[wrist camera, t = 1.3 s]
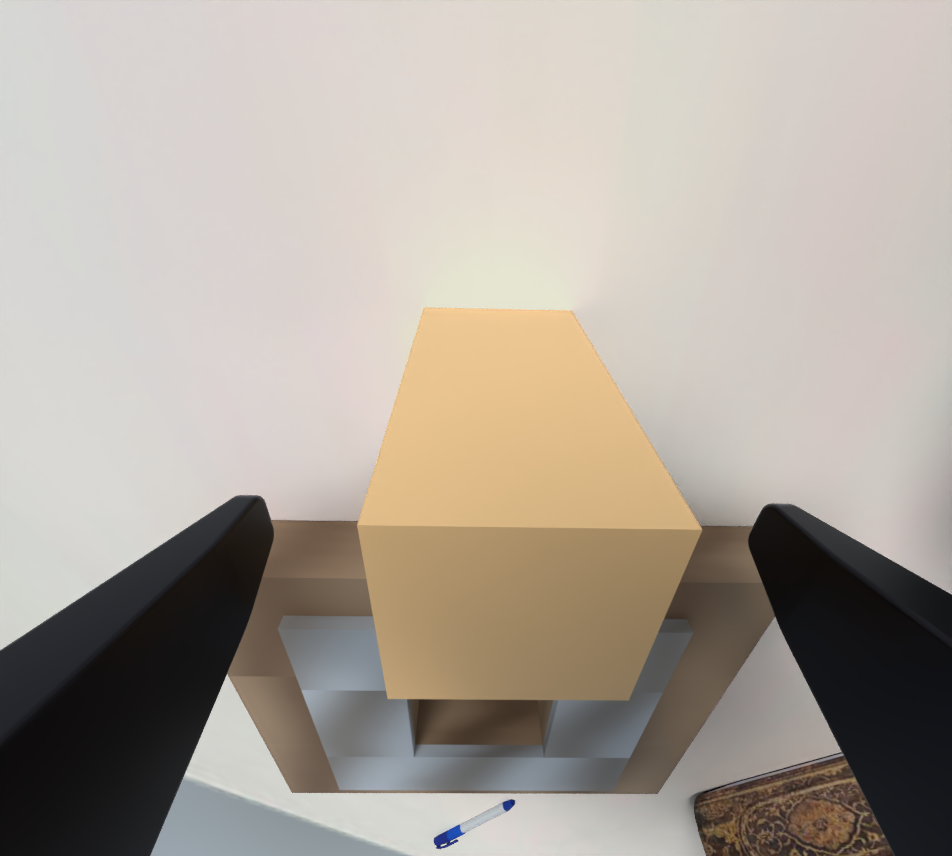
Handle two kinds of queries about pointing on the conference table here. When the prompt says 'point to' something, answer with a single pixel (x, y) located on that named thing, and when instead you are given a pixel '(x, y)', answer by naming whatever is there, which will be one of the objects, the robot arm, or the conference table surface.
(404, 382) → the tan cardboard-colored box
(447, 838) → the ballpoint pen
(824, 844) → the book
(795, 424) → the conference table surface
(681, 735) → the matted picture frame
